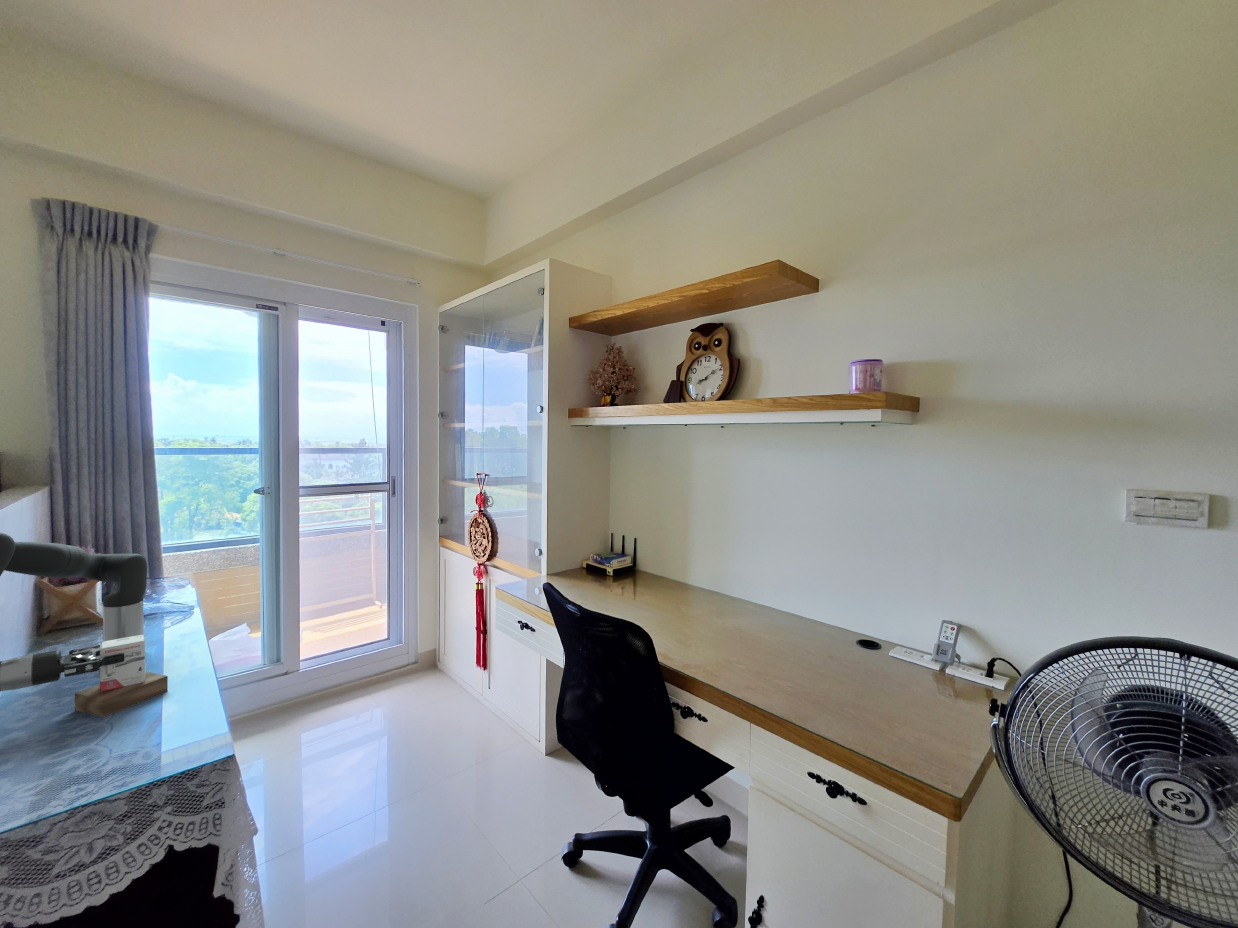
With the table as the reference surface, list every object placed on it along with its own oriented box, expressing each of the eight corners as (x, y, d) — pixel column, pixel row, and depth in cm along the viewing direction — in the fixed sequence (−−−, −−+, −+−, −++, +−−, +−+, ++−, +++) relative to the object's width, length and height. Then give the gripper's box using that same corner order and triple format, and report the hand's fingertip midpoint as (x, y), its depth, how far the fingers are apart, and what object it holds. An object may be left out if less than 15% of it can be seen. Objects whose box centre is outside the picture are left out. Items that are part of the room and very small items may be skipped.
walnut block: (74, 711, 127) (74, 692, 127) (140, 687, 141) (140, 670, 141) (103, 719, 124) (103, 699, 124) (167, 693, 138) (167, 675, 138)
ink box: (99, 692, 128) (98, 648, 127) (100, 685, 131) (99, 641, 131) (145, 682, 134) (145, 639, 133) (145, 675, 137) (145, 633, 137)
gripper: (26, 664, 116) (124, 646, 127) (35, 646, 126) (124, 631, 137) (27, 695, 116) (124, 674, 128) (35, 675, 126) (125, 657, 138)
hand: (124, 652), depth 133 cm, fingers open, 8 cm apart
